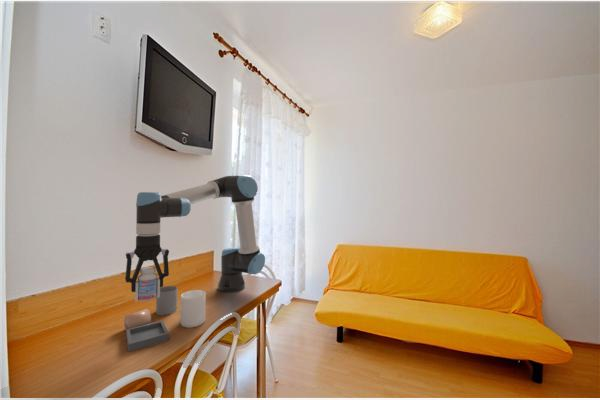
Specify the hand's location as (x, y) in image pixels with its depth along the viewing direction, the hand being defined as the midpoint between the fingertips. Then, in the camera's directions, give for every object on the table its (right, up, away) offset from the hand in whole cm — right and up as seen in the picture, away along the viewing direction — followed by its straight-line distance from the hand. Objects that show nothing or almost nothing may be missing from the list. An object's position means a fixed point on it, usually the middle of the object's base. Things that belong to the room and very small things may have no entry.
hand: (147, 298), depth 92 cm
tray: (0, -14, 0) cm, 14 cm away
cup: (-5, -15, +23) cm, 27 cm away
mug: (+10, -15, +13) cm, 22 cm away
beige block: (-8, -14, +7) cm, 18 cm away
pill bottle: (0, 0, 0) cm, 0 cm away
